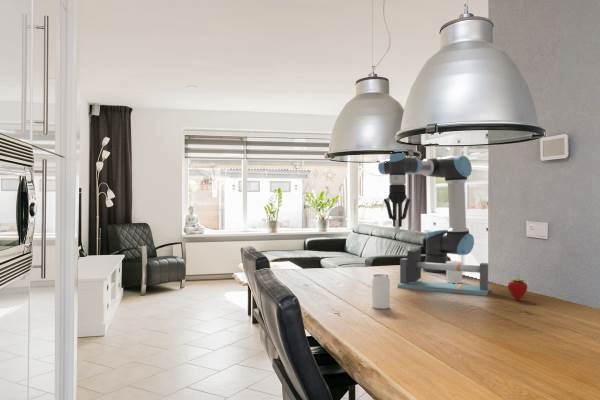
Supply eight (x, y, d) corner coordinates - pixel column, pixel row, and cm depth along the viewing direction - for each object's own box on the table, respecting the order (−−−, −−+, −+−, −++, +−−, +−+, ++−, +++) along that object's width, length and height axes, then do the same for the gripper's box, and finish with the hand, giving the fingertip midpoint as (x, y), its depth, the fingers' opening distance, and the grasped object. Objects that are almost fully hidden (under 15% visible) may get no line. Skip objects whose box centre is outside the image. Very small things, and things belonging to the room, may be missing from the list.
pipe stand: (397, 287, 208) (397, 260, 208) (405, 282, 221) (405, 257, 221) (486, 295, 191) (486, 266, 191) (489, 289, 203) (489, 262, 203)
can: (392, 308, 167) (392, 276, 167) (376, 309, 166) (376, 277, 166) (385, 305, 174) (385, 273, 174) (369, 305, 172) (369, 274, 172)
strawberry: (504, 298, 185) (504, 274, 185) (522, 298, 186) (522, 273, 186) (512, 301, 179) (512, 276, 179) (530, 301, 180) (530, 276, 180)
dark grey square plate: (407, 281, 206) (407, 251, 206) (414, 277, 219) (414, 248, 219) (413, 282, 205) (413, 251, 205) (420, 277, 217) (420, 248, 217)
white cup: (465, 284, 218) (465, 263, 218) (448, 283, 218) (448, 263, 218) (459, 281, 225) (459, 261, 225) (443, 281, 226) (443, 261, 226)
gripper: (381, 184, 215) (381, 233, 215) (409, 183, 209) (409, 234, 209) (386, 184, 222) (386, 232, 222) (413, 184, 216) (413, 233, 216)
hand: (397, 233), depth 215 cm, fingers closed
